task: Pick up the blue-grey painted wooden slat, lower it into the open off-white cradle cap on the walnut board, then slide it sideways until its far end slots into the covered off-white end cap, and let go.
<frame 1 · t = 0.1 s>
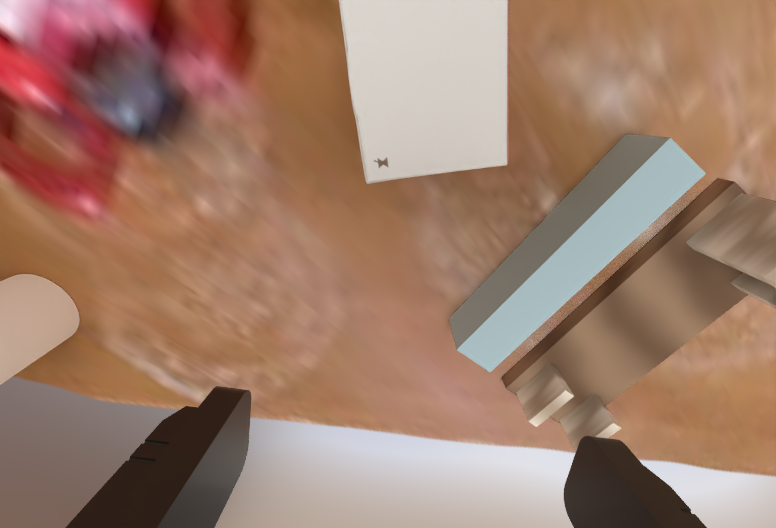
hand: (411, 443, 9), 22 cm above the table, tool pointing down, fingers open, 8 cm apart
slat: (542, 247, 31), on the table
small box: (413, 92, 26), on the table
cylindrical container: (42, 307, 34), on the table
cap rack: (630, 317, 33), on the table
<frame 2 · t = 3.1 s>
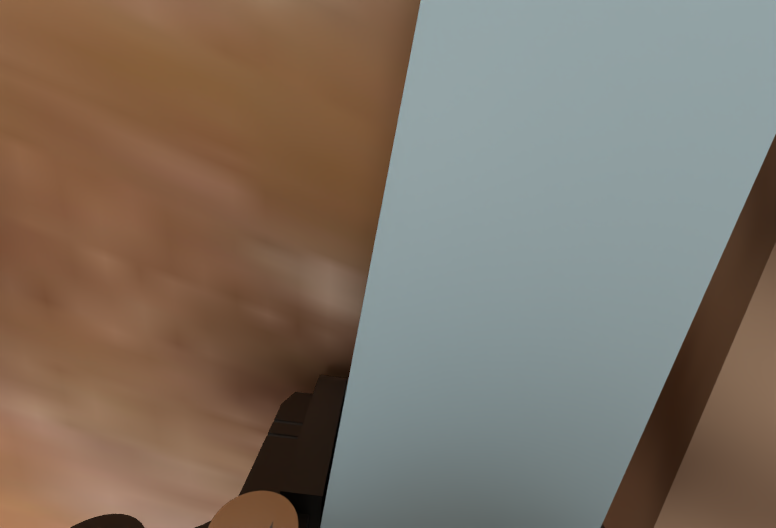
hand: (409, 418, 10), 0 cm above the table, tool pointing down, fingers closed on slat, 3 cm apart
slat: (410, 405, 10), on the table, touching gripper
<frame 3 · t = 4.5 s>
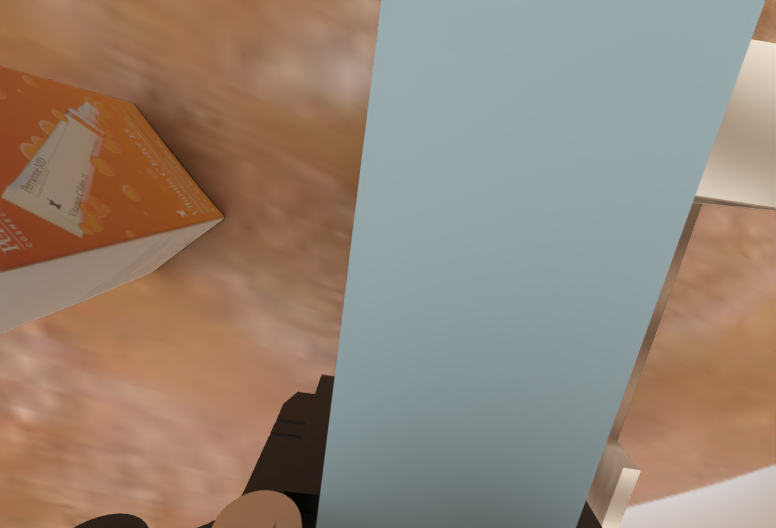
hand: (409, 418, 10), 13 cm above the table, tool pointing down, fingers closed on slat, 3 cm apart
slat: (409, 399, 10), point 13 cm above the table, touching gripper
small box: (146, 191, 22), on the table
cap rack: (573, 302, 23), on the table
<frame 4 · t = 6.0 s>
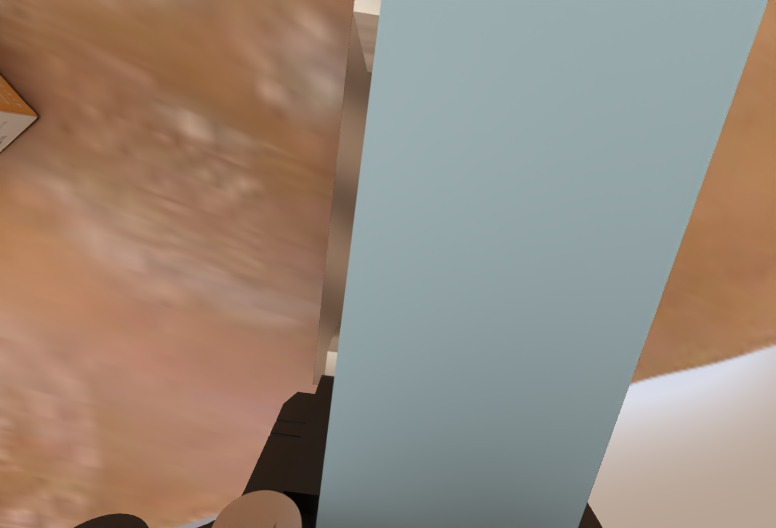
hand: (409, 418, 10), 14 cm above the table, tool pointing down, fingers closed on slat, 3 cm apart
slat: (409, 401, 10), point 13 cm above the table, touching gripper
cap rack: (408, 210, 22), on the table
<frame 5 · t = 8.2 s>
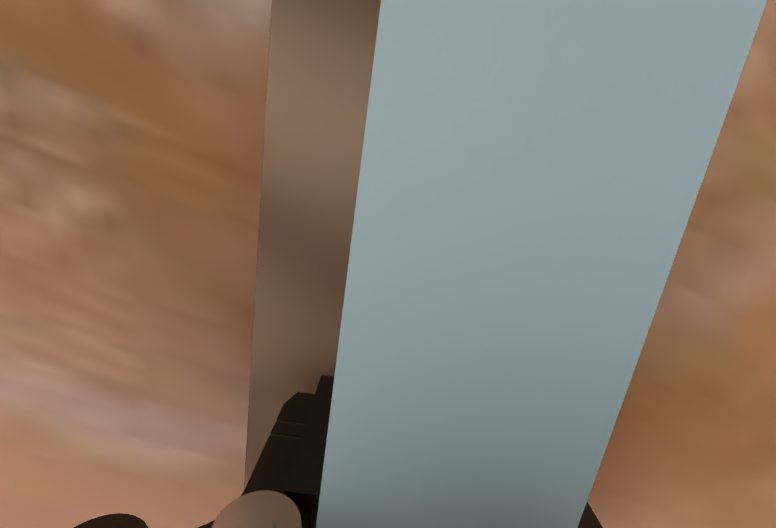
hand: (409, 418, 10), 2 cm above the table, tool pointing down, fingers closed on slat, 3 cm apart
slat: (409, 401, 10), point 1 cm above the table, touching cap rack, gripper
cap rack: (427, 254, 11), on the table
when the fingers open (2 cm above the table, at t = 9.4 s): slat stays where it is, resting on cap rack.
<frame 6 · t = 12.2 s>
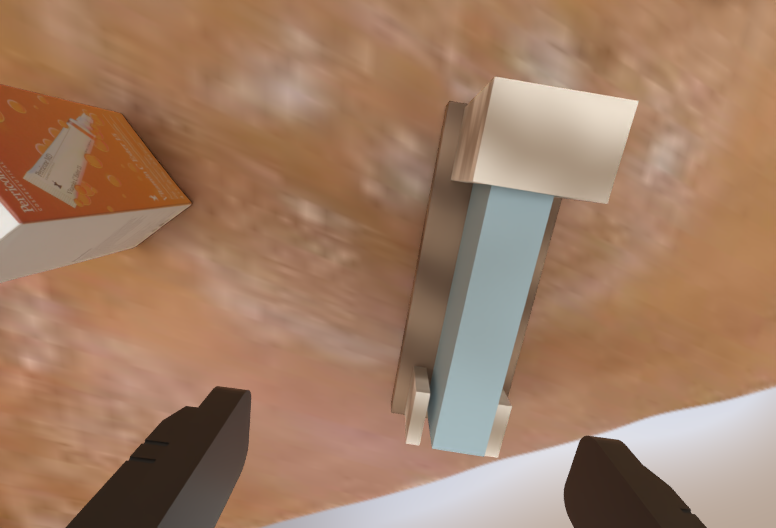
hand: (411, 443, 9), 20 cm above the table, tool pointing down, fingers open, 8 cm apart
slat: (474, 291, 27), point 1 cm above the table, touching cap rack
small box: (131, 182, 27), on the table
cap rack: (472, 277, 28), on the table
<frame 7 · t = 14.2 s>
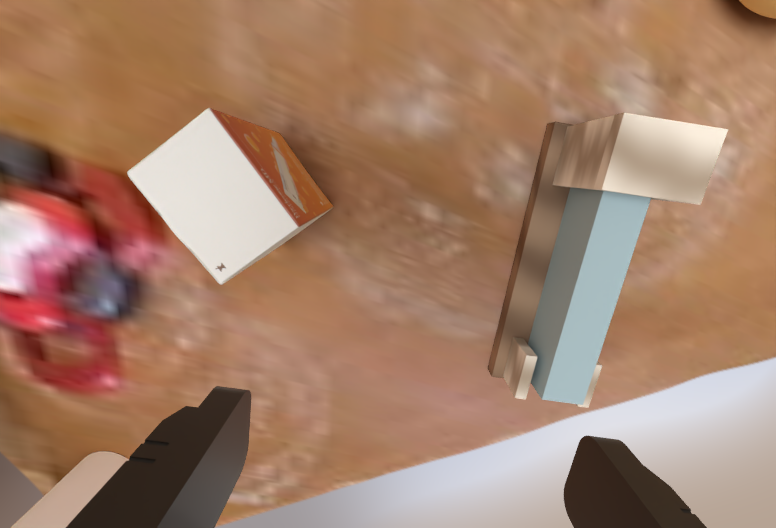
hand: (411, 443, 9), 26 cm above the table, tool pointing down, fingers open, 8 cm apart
slat: (566, 274, 33), point 1 cm above the table, touching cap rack
small box: (281, 189, 33), on the table
cylindrical container: (111, 475, 41), on the table
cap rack: (561, 263, 34), on the table
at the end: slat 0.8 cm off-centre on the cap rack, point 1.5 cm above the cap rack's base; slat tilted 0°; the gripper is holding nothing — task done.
